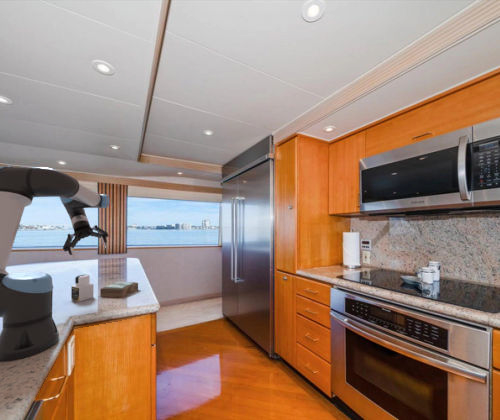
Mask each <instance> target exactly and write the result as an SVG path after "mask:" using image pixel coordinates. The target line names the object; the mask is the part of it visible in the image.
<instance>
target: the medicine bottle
mask: <svg viewBox="0 0 500 420" xmlns="http://www.w3.org/2000/svg"><path fill="white" fill-rule="evenodd" d="M90 279H91V278H90V274H81V275H80V274H79V275H77V276H75V279H74V283H75V285H71V294H70V295H71V300H72V301H75V302H83V301H86V300H88V299H90V300H91V299H93V298H94V284H93V283H90Z"/></svg>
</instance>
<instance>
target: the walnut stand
mask: <svg viewBox="0 0 500 420" xmlns="http://www.w3.org/2000/svg"><path fill="white" fill-rule="evenodd" d="M138 290H139V283H138V282H136V281H135V282H134V281H116V282H114V283H111V284H108V285H105V286H103V287H101V288H100V297H109V298H111V297H112V298H123V297H125V295H126V296H127V295H129V294H131V293H134V292H136V291H138Z"/></svg>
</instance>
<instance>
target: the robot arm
mask: <svg viewBox="0 0 500 420" xmlns="http://www.w3.org/2000/svg"><path fill="white" fill-rule="evenodd" d="M47 197H48V198H52V197H54V198H55V197H56V198H57V197H58V198H60V201H61V203H62V205H63V207H64V209H65V210H66V212H67V214H68V217H69V219H70V222H71V225H72V228H73V231H74V233H72V234H71V233H67V238H66V240H65V243H64V245H63V246H62V249H63V251H64V252H65V253H66V252H68V254H69V256H72V258H73V260H74V261H76V260H77V257H76V256H77V255H76V253H75V250H74V248H75V246H76V245H77V244H78V242H80V241H81V240H82V239H85V238H89V237H95V238H99V239H101V242H102V245H103V246H104V249H107V245H106V244H107V243H108V241H107V238H108V237H110V235H109V233H108V232H107V231H106V230H103V228H100V227H99V226H98V225H96V224H95V225H94V226H93V227H91V225H90V222H89V219H88V217H87V214H86V212H85V211H86V209H104V208H109V206H110V202H111V200H110V196H109V195H108V194H103V193H102V194H99V193H97V192H95V191H93V190H92V189H90V188H88V187H86V186H85V185H83V184H81V183H79V181H78V180H77V179H76V178H75V177H73V176H71V175H69V174H67V173H65V172H63V171H60V170H58V169H53V168H50V167H44V166H15V165H14V166H13V165H5V166H4V165H3V166H0V318H2V329H1V332H0V362H6V361H15V360H19V359H20V360H21V359H24V358H28V357H30V356H33V355H37V354H40V353H41V352H43V351H45V350H47V349H49V348H51V347H53V346H54V345H56V344H57V343H58V341H59V339H60V332H59V330H58V328H57V325H56V323H55V320H54V318H53V297H54V296H53V294H54V293H53V292H54V285H53V284H54V283H53V278H52V275H50V274H48V273H47V272H42V271H41V272H40V271H24V272H15V273H13V272H12V273H9V272H8V271H7V270H6V268H7V265H8V262H9V260H10V256H11V252H12V249H13V246H14V243H15V239H16V236H17V233H18V231H19V228H20V224H21V220H22V217H23V214H24V211H25V208H26V207H28V206H31V205H32V202H33V199H34V198H47Z"/></svg>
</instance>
